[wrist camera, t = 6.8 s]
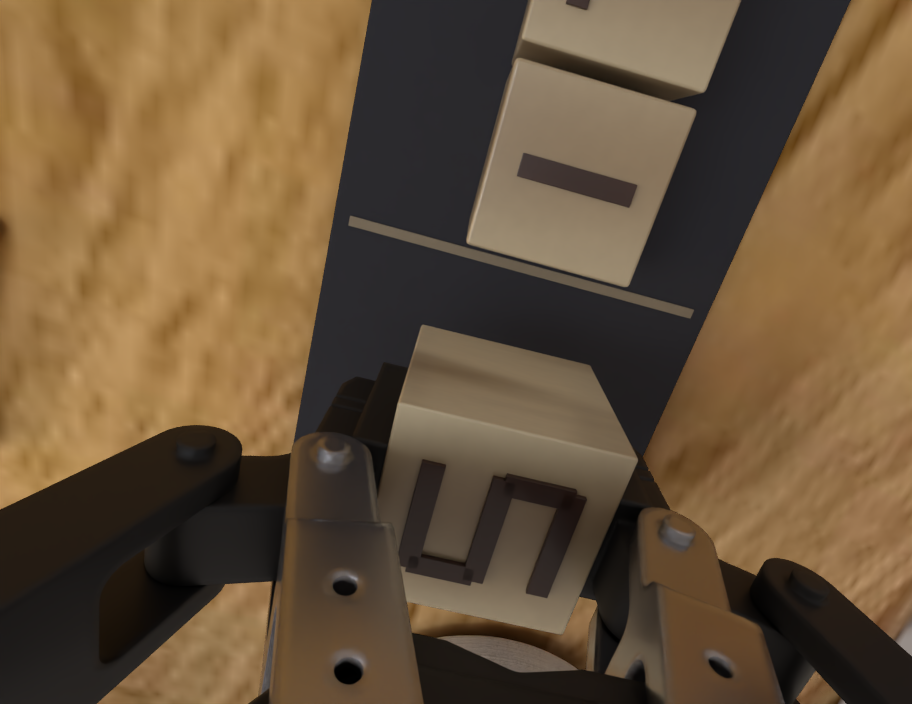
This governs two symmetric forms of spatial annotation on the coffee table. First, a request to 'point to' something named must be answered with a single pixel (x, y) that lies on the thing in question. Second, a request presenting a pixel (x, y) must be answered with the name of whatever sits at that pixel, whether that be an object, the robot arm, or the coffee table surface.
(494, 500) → the letter S
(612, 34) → the letter T
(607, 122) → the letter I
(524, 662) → the planter
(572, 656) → the coffee table surface
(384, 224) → the word board
